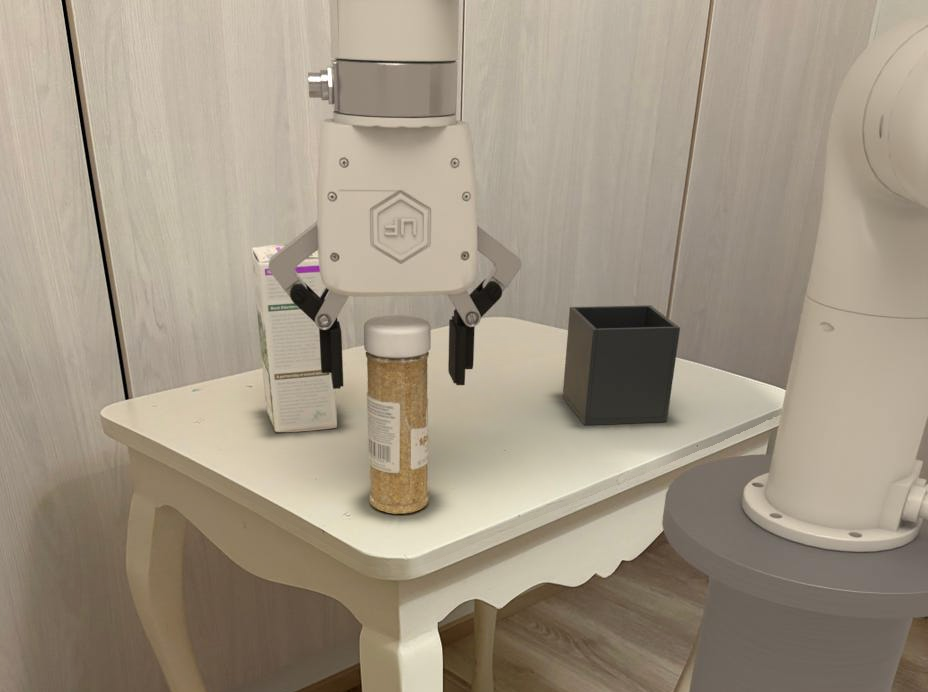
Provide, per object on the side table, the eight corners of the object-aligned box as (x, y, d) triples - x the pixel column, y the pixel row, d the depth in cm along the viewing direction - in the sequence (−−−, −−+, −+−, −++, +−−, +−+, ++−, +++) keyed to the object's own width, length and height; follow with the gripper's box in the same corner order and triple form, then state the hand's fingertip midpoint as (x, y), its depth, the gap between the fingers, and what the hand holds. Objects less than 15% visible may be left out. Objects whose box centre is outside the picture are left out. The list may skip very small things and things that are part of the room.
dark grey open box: (639, 394, 97) (651, 305, 92) (667, 422, 90) (680, 327, 86) (562, 397, 96) (569, 306, 91) (584, 425, 89) (593, 329, 85)
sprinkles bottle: (439, 509, 74) (442, 325, 66) (382, 520, 72) (379, 332, 65) (413, 486, 77) (413, 309, 70) (358, 496, 75) (353, 315, 68)
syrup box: (339, 428, 87) (332, 255, 80) (272, 434, 86) (258, 258, 78) (327, 407, 92) (319, 242, 84) (263, 412, 91) (249, 244, 83)
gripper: (247, 98, 56) (271, 402, 65) (549, 102, 58) (530, 395, 68) (250, 89, 62) (271, 368, 71) (522, 93, 64) (508, 362, 74)
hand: (397, 379), depth 69 cm, fingers open, 7 cm apart
